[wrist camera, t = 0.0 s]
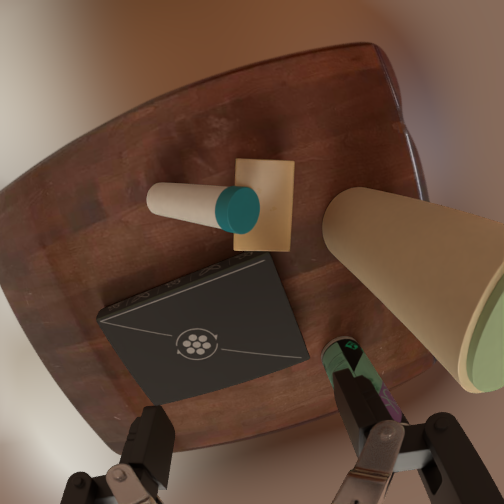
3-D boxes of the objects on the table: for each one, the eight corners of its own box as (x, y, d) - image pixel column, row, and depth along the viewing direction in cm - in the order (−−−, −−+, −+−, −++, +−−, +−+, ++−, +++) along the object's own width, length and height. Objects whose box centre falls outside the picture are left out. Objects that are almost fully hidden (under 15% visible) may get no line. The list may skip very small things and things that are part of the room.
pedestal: (305, 233, 33) (429, 362, 10) (354, 170, 32) (535, 197, 9) (360, 277, 35) (487, 408, 12) (404, 219, 34) (566, 293, 11)
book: (265, 241, 33) (268, 248, 31) (305, 345, 38) (310, 359, 35) (102, 306, 35) (93, 317, 32) (158, 392, 39) (154, 406, 36)
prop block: (233, 234, 33) (233, 250, 27) (235, 159, 31) (235, 158, 25) (279, 235, 33) (290, 251, 27) (282, 161, 31) (294, 160, 25)
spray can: (341, 373, 39) (393, 485, 20) (312, 360, 38) (359, 482, 19) (366, 345, 38) (435, 451, 19) (338, 329, 37) (406, 446, 18)
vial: (152, 213, 32) (117, 236, 21) (152, 181, 31) (115, 189, 20) (252, 214, 33) (262, 238, 22) (254, 181, 32) (264, 188, 21)
